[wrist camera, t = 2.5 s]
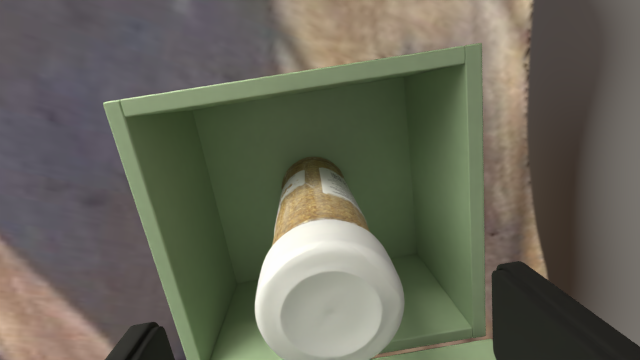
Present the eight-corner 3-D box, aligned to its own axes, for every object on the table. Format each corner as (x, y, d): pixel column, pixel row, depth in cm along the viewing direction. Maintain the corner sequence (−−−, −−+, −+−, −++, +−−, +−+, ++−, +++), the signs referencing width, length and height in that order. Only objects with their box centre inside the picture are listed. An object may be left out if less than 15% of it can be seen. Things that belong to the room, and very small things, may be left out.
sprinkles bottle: (272, 167, 21) (227, 273, 8) (335, 146, 21) (387, 222, 8) (294, 225, 23) (283, 397, 10) (353, 206, 22) (424, 353, 9)
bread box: (183, 100, 21) (101, 102, 12) (409, 65, 21) (482, 42, 12) (231, 286, 24) (194, 385, 16) (423, 254, 25) (486, 336, 16)
